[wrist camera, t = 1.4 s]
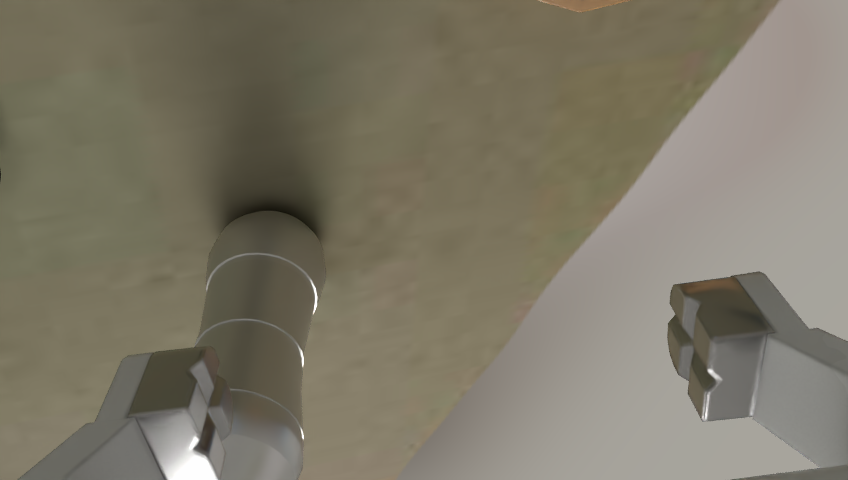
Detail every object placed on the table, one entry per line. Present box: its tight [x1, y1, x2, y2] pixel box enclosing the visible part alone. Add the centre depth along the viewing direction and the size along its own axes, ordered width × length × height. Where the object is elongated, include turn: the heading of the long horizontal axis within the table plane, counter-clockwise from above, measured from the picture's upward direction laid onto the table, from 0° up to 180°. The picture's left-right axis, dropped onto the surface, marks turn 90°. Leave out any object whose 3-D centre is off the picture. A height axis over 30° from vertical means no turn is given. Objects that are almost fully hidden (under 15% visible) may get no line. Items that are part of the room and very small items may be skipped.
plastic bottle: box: [195, 211, 326, 480], centre depth 34 cm, size 6×7×20 cm
